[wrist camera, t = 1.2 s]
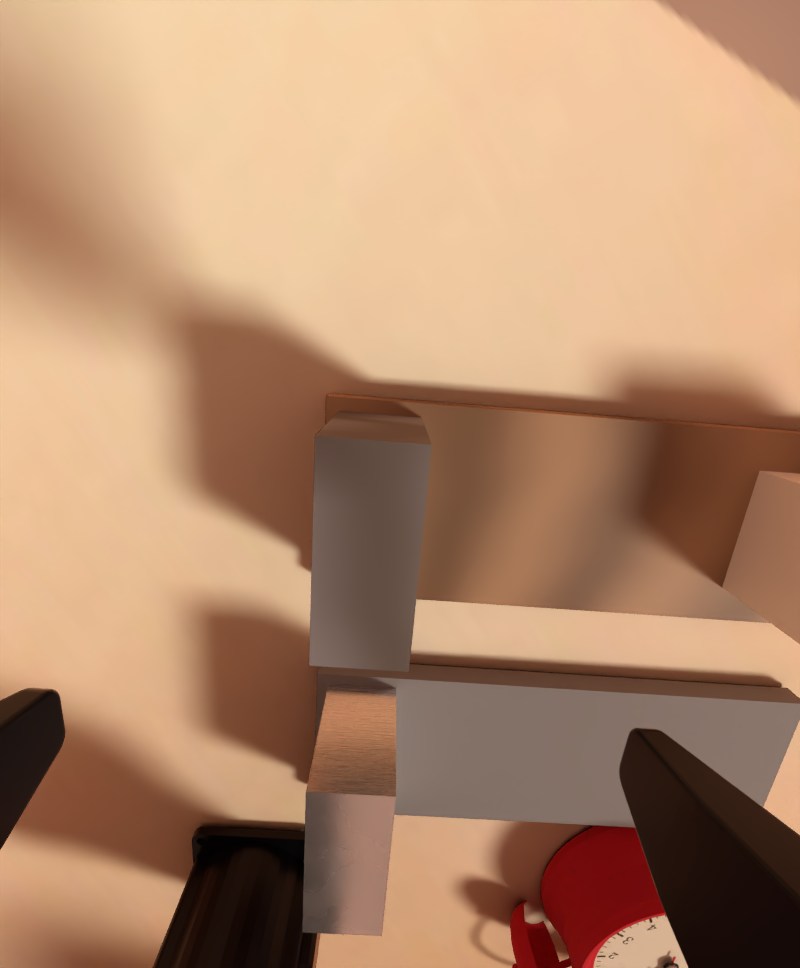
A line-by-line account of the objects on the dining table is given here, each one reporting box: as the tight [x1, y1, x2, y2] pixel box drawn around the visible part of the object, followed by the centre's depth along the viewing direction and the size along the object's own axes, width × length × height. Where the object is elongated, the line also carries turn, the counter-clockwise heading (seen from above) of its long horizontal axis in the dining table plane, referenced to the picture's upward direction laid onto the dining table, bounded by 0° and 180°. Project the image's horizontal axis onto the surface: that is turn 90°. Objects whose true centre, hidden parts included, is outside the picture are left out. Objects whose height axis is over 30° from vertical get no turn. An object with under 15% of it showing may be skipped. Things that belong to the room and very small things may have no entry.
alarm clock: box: [510, 825, 688, 968], centre depth 23 cm, size 10×6×15 cm
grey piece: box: [302, 664, 800, 936], centre depth 19 cm, size 22×8×6 cm, turn 85°
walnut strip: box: [309, 393, 800, 672], centre depth 15 cm, size 22×8×6 cm, turn 85°
